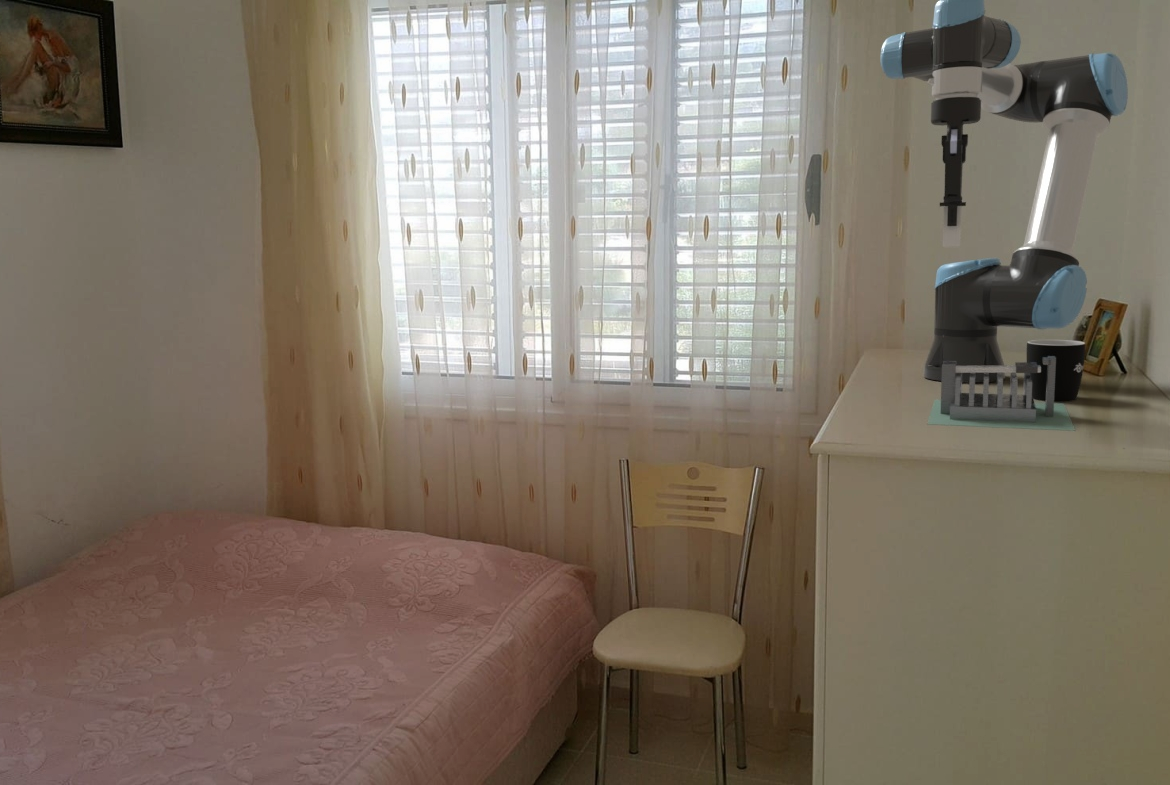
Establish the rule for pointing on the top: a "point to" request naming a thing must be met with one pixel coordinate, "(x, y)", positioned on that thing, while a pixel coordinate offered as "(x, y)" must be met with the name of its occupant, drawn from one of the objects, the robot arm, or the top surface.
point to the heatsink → (994, 396)
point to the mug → (1057, 367)
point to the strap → (1002, 368)
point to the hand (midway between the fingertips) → (951, 246)
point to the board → (1042, 422)
